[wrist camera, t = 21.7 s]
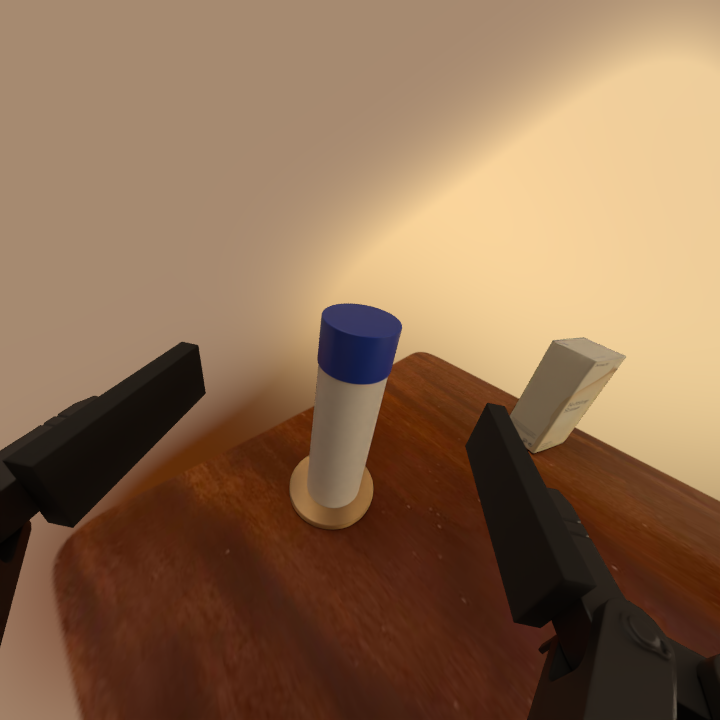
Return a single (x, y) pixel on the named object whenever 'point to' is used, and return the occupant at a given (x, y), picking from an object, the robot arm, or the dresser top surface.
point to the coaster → (325, 515)
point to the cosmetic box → (562, 391)
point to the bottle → (348, 397)
